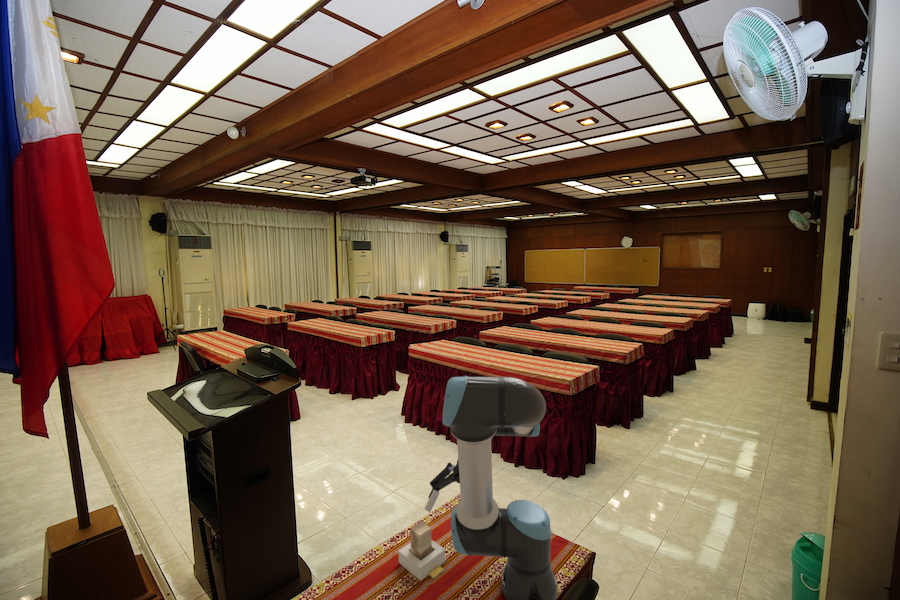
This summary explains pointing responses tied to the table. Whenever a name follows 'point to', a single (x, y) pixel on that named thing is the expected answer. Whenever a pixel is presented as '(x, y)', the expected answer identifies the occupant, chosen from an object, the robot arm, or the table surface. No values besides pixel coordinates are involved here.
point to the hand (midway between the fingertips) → (441, 519)
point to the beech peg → (421, 540)
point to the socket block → (423, 561)
